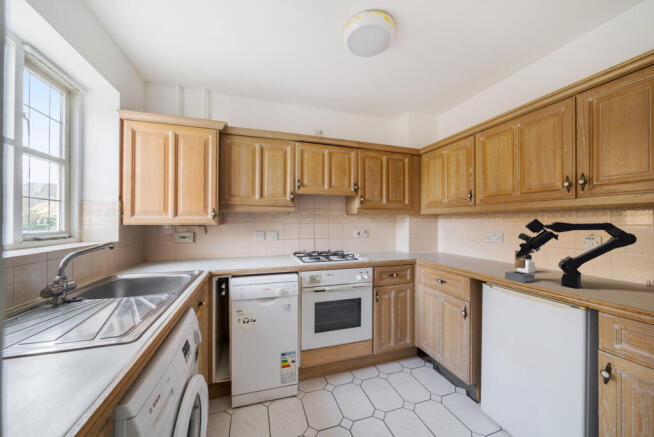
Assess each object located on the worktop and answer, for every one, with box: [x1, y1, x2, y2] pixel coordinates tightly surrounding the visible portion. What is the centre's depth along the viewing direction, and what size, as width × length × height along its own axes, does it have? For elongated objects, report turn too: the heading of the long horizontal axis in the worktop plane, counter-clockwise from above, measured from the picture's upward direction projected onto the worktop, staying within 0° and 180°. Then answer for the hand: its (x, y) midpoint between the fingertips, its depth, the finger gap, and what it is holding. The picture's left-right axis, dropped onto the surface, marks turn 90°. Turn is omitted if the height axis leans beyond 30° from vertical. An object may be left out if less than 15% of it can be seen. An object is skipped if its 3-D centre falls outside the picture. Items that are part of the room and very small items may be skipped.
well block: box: [504, 270, 535, 284], centre depth 146 cm, size 10×10×4 cm
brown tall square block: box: [514, 250, 525, 269], centre depth 148 cm, size 4×4×10 cm
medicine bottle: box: [516, 254, 536, 274], centre depth 169 cm, size 7×7×12 cm
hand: (517, 256), depth 149 cm, fingers closed on brown tall square block, 4 cm apart
